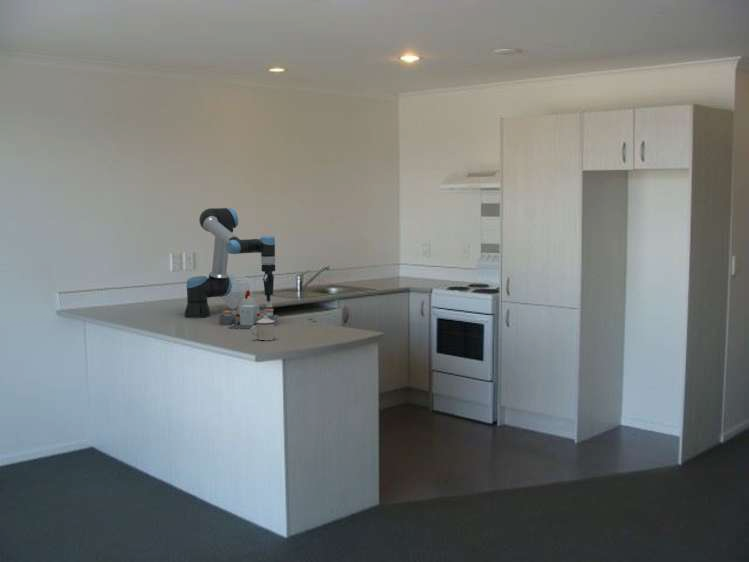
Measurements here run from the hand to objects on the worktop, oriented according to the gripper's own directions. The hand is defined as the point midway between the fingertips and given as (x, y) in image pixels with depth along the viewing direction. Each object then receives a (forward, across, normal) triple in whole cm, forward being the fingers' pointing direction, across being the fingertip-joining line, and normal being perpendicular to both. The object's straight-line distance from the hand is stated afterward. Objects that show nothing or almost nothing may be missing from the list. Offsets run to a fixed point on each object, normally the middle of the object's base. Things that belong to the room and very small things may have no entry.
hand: (269, 307), depth 446 cm
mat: (+10, -11, +12) cm, 19 cm away
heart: (+10, +57, +42) cm, 72 cm away
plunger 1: (+8, 0, +24) cm, 26 cm away
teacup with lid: (+11, -45, -11) cm, 47 cm away
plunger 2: (+7, 0, 0) cm, 7 cm away
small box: (+10, 0, +12) cm, 16 cm away
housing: (+10, 0, +12) cm, 16 cm away
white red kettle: (+10, +32, +23) cm, 41 cm away
